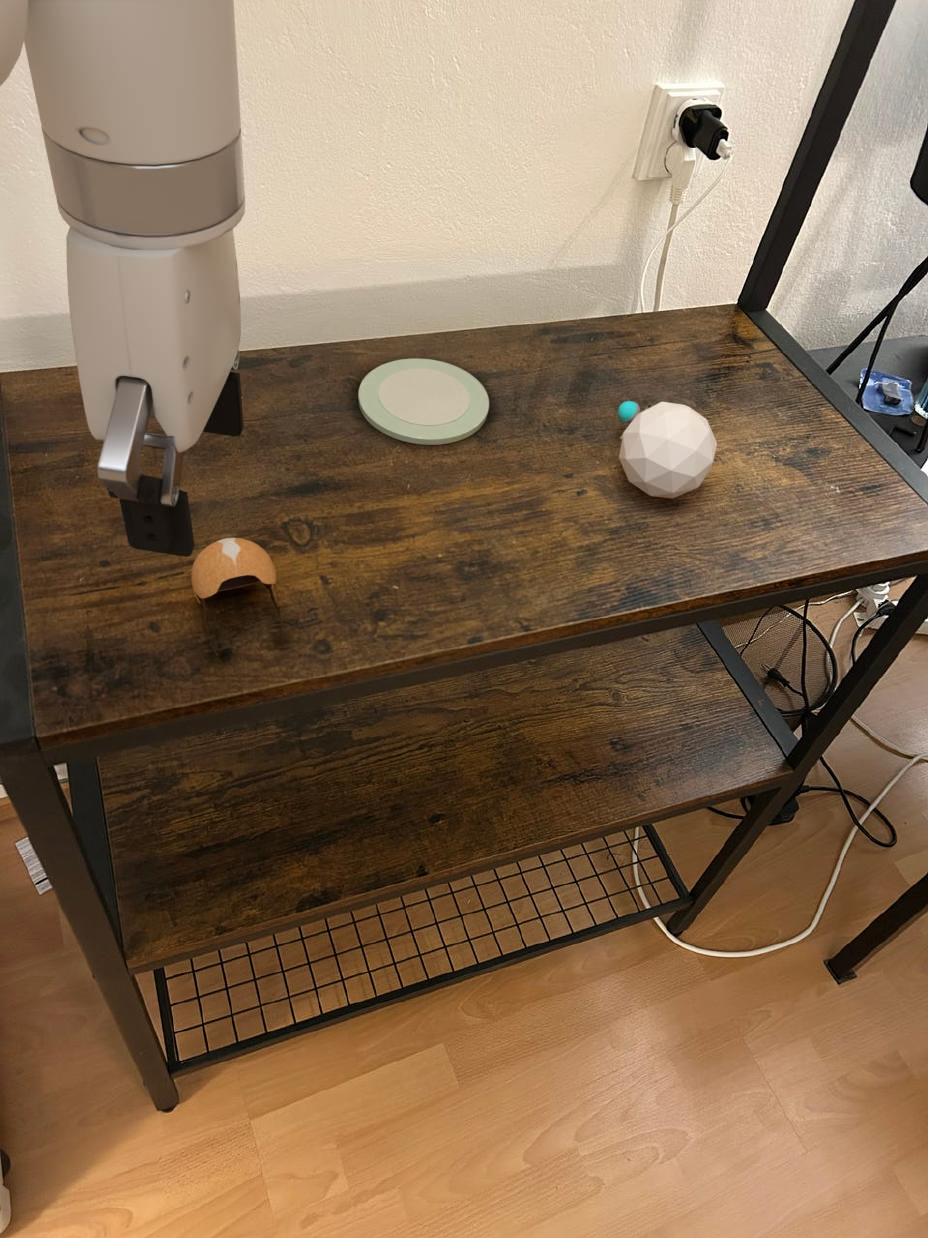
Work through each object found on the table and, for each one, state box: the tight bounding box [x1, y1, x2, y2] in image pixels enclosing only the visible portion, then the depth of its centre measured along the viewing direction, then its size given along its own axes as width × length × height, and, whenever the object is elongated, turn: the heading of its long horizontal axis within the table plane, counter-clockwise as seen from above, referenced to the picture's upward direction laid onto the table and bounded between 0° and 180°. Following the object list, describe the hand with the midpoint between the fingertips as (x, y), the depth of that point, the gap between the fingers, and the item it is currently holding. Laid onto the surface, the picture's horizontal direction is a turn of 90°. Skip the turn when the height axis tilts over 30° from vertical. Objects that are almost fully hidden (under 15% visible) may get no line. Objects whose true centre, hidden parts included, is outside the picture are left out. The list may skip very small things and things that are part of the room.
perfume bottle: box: [617, 400, 718, 499], centre depth 83 cm, size 8×8×12 cm
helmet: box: [190, 537, 284, 658], centre depth 69 cm, size 6×7×8 cm
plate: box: [357, 357, 490, 446], centre depth 89 cm, size 12×12×1 cm
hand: (190, 485), depth 52 cm, fingers open, 9 cm apart
